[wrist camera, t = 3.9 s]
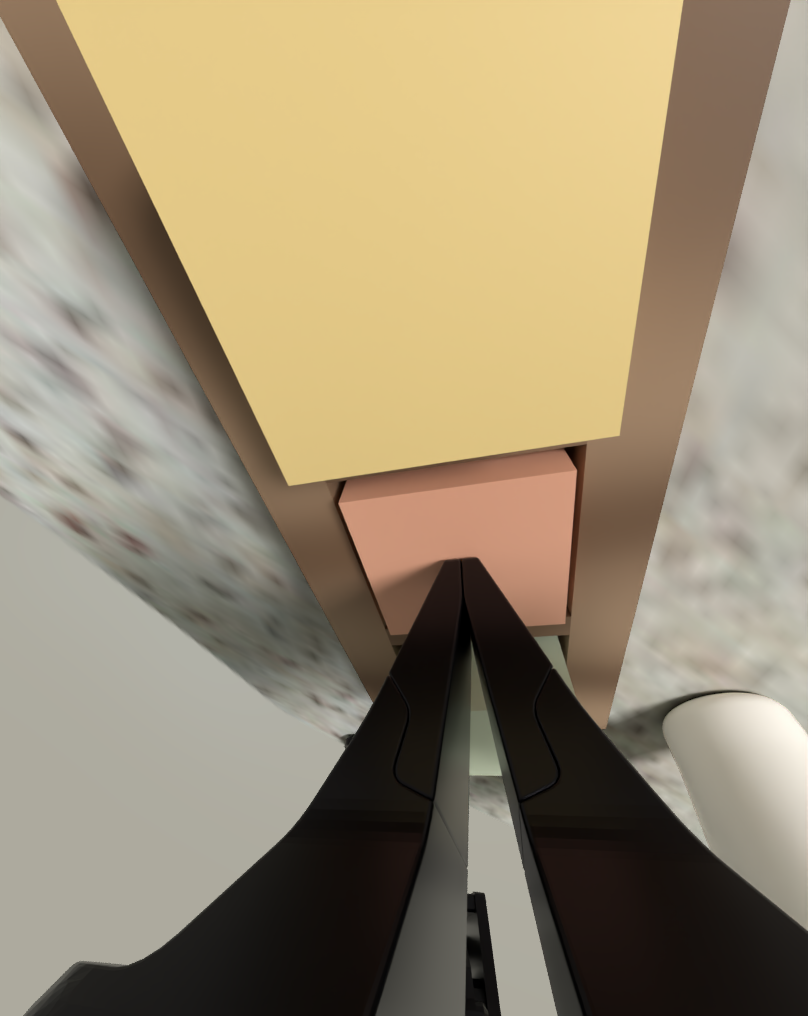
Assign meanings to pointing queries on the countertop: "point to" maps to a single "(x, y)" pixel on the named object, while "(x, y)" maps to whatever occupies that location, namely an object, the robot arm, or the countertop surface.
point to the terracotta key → (467, 531)
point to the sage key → (480, 729)
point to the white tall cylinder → (748, 789)
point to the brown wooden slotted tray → (600, 463)
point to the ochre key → (402, 207)
